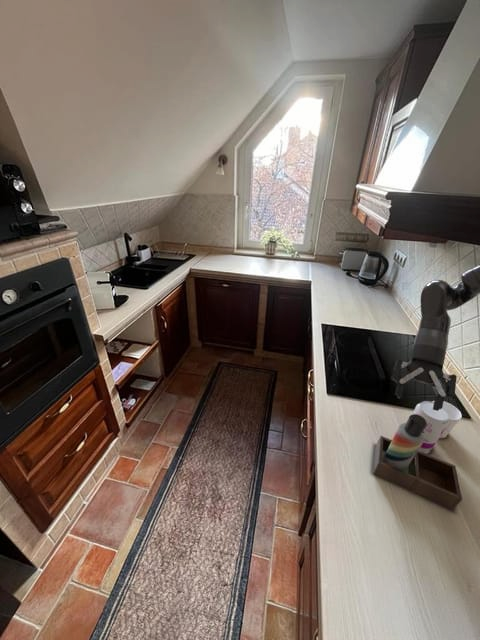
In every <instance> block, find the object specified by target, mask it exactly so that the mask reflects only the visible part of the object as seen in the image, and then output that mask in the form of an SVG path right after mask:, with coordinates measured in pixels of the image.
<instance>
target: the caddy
mask: <svg viewBox="0 0 480 640" xmlns="http://www.w3.org/2000/svg"><path fill="white" fill-rule="evenodd" d="M392 440H393V439H390V438H387V437H385V436H383V435H380V436H379V438H378V440H377V442H376V443H375V444H376V445H375V449H374V450H375V451H374V459H373V470H372V471H373V472H372V473H373V474H374V475H376V476H378V477H380V478H382V479H384V480H386V481H389V482H391V483H393V484H395V485H397V486H399V487H401V488H404V489H406V490H408V491H410V492H412V493H414V494H417V495H418V496H420V497H423V498H425V499H427V500H429V501H432V502H434V503H436V504H437V505H440V506H442V507H444V508H447V509H449V510H450V511H454V510H455V508H456V507H457V506H458V505H459V504H460V503H461V501H462V500H463V497H462V492H461V487H460V483H459V478H458V477H459V476H458V473H457V467H456V465H455V464H453V463H450V462H447V461H446V460H443V459H440V458H437V457H436V456H433V455H430V454H429V453H427V454H425V453H423V452H420V451H417V452H416V454H415V456H414V457H413V459H412V461H411V462H410V464H409V466H408V467H407V469H406V470H405V472H404V471H402V470H400V469H397V468H395V467H393V466H391V465H388V464H386V463H384V462H383V458H384V455H385V453H386V452H387V450H388V448H389V446H390V444H391V442H392Z"/></svg>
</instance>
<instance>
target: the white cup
mask: <svg viewBox="0 0 480 640" xmlns="http://www.w3.org/2000/svg"><path fill="white" fill-rule="evenodd" d="M434 401H435V400H432V402H434ZM443 408H444V409H445V410H446V411H447V412H448V414H449V423H448V425H447V427H446V428H445V430H444V431H443V433H442V434H441V436H440V437H439V439H445V438H446V437H447V436H448V435H449V433H451V432H452V430H454V428H455V427H456V426H457V424H458V423H459V422H460V420H461V419H462V418H463V416H462V413H461V411H460V409H458V408H457V407H456V406H454V405H453V404H452V403H449V402H448V401H445V400H444V402H443Z"/></svg>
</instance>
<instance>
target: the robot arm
mask: <svg viewBox="0 0 480 640" xmlns="http://www.w3.org/2000/svg"><path fill="white" fill-rule="evenodd" d="M479 295H480V264H478V265H476V266H474V267H472V268H470V269H469V268H468V270H465V271H464V272H462V273H461V275H460V282H459V283H458V284H456V285H454V286H452V285H451V284H450V283H449V282H447V281H446V280H443V279H434V280H430V281H429V282H428V283H426V285H424V287H423V288H422V290H421V292H420V301H419V303H420V321H419V324H418V329H417V332H416V335H415V338H414V341H413V344H412V345H413V346H412V350H411V354H410V358H409V362H405V361H404V360H403V359H397V360H396V361H395V364H394V367H393V370H392V373H391V376H390V380H392V381H394V382H395V383H396V387H395V392H394V395H395V396H396V398H397V399H402V397H403V393H404V389H405V383H407V382H409V381H410V380H413V381H414V382H419V383H422V384H424V385H430V387H431V389H432V390H433V391H434V392H435V394H436V395H435V396H434V400H433V401H434V406H433V410H436V411H439V409H442V407H443V402H444V401H445V399H446V398H454V397H455V396H456V387H457V379H458V377H457V375H456V374H454V373H453V374H449V373H445V372H444V370H443V369H444V365H445V360H446V354H447V349H448V344H449V333H450V328H451V326H452V325H451V324H452V319H451V316H450V314H449V313H448V312H449V311H453V310H456V309H458V308H460V307H462V306H464V305H465V304H466V303H468V302H470V301H472V300H473V299H474V298H476V297H478V296H479ZM405 367H406V369H407V372H408V374H406V375H405V376H403V377H399V375H400V372H401V370H402V369H404V368H405ZM442 378H443V379H444V382H445V383H446V385H445V390H444V389H443V385H442V384H441V381H440V379H442Z"/></svg>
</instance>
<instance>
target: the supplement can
mask: <svg viewBox="0 0 480 640" xmlns="http://www.w3.org/2000/svg"><path fill="white" fill-rule="evenodd" d="M433 406H434V402H433V401H430V400H424V401H421V402H420V403H417V404H416V406H415V407H414V409H413V412H412V413H411V415H413V414H417V415H420V416H422V417H423V418H424V419H425V420H426V422H427V426H426V428H425V429H424V431H423V434H424V441H423V442H422V444H421V446H420V447H419V449H418V451H420V452H423V453H425V454H429V453H431V451H432V450H433V448H434V447H435V445H436V443H437V442H438V440H439V439H440V438H439V437H440V436H441V434H442V433H443V431H444V430H445V428H446V427H447V425H448V423H449V414H448V412H447V411H446V410H445V409H444V408H443V407H442V409H439V411H436V410H433Z"/></svg>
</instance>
